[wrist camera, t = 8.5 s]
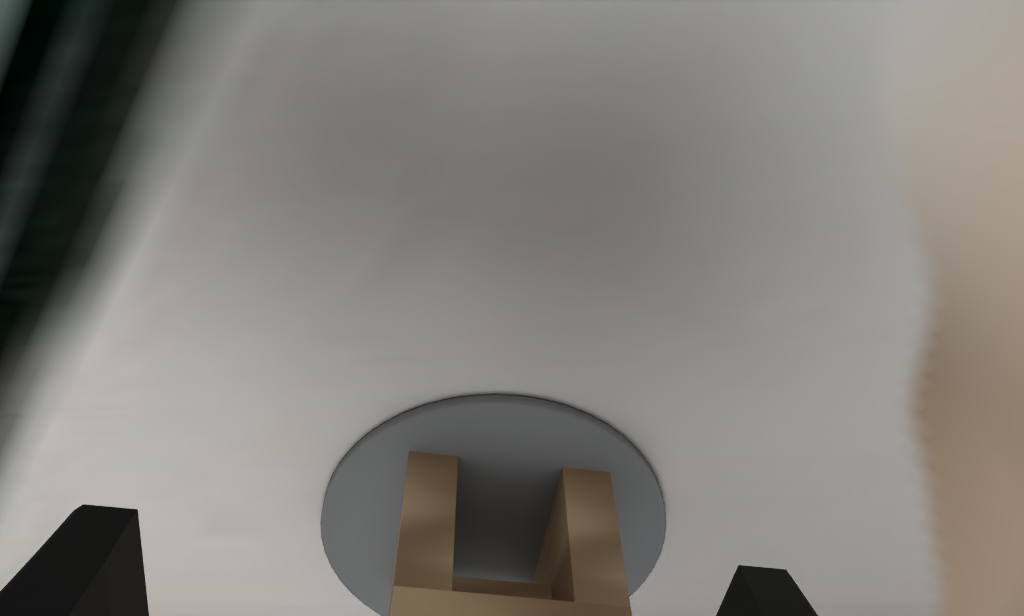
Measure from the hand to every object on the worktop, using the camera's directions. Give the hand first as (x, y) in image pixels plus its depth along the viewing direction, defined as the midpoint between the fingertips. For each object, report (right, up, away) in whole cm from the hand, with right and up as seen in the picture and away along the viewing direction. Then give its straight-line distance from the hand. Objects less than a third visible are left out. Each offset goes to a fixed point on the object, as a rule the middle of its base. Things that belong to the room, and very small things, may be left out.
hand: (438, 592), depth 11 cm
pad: (0, -2, +13) cm, 13 cm away
